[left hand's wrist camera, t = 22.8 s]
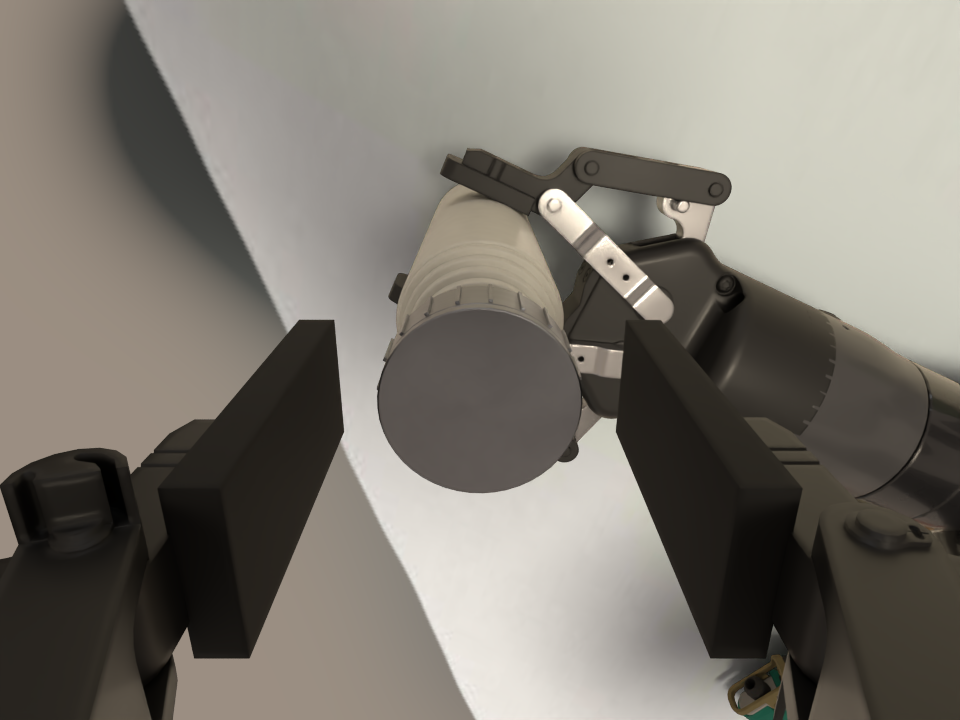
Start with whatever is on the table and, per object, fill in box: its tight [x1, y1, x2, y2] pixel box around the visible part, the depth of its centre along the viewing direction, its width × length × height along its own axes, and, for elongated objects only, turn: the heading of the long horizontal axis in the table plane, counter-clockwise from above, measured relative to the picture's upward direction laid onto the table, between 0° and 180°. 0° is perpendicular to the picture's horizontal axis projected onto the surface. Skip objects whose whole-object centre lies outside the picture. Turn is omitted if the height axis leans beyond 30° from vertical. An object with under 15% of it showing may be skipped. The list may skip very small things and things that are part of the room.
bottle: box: [396, 184, 564, 333], centre depth 23 cm, size 5×5×20 cm
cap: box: [377, 284, 582, 493], centre depth 14 cm, size 4×4×2 cm
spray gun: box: [728, 654, 788, 720], centre depth 42 cm, size 4×17×15 cm
